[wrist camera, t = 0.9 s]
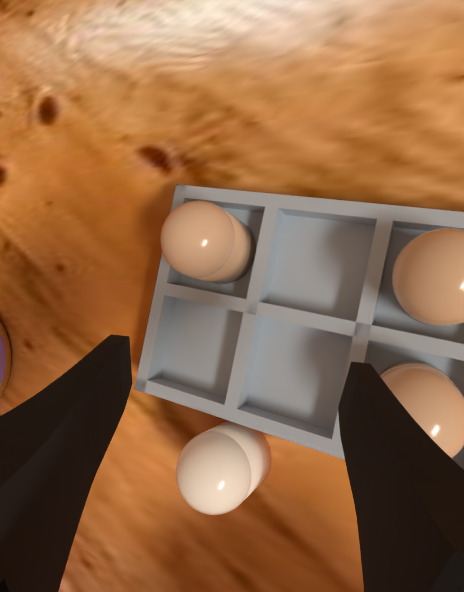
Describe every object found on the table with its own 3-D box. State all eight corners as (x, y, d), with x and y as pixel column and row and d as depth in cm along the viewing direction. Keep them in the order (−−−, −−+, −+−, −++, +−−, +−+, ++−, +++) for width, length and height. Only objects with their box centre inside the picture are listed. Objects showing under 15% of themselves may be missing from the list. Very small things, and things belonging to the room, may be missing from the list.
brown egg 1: (248, 289, 27) (208, 279, 21) (188, 278, 28) (137, 265, 23) (262, 221, 27) (225, 194, 21) (201, 214, 28) (153, 187, 23)
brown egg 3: (451, 456, 22) (464, 497, 16) (364, 430, 23) (350, 459, 18) (468, 372, 22) (487, 386, 16) (379, 352, 23) (370, 359, 18)
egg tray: (474, 486, 22) (481, 505, 20) (156, 384, 30) (134, 388, 28) (526, 231, 22) (540, 219, 20) (194, 196, 30) (176, 184, 28)
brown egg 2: (476, 334, 22) (498, 335, 16) (387, 317, 23) (380, 313, 18) (494, 250, 22) (521, 224, 16) (403, 239, 23) (401, 212, 18)
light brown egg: (263, 500, 26) (226, 543, 21) (201, 475, 28) (153, 509, 23) (277, 431, 26) (244, 456, 21) (215, 411, 28) (169, 429, 23)
